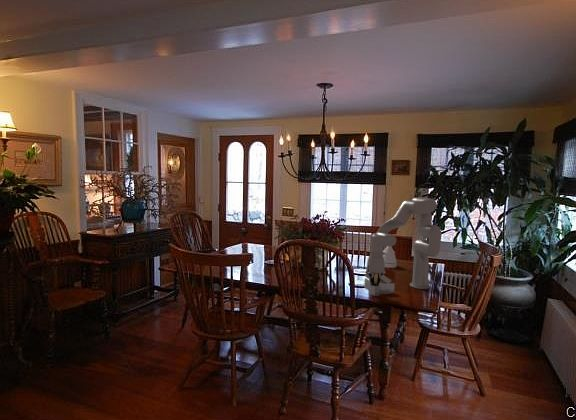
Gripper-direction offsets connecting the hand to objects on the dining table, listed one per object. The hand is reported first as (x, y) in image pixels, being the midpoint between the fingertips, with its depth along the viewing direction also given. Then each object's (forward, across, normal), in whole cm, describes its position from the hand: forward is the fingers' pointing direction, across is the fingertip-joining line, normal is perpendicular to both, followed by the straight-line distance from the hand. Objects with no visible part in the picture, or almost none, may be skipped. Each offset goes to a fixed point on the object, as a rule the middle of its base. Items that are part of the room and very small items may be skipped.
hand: (374, 283), depth 229 cm
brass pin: (+2, 0, 0) cm, 2 cm away
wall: (+7, -11, -17) cm, 22 cm away
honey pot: (+7, -44, -64) cm, 78 cm away
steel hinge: (+7, -5, -5) cm, 10 cm away
